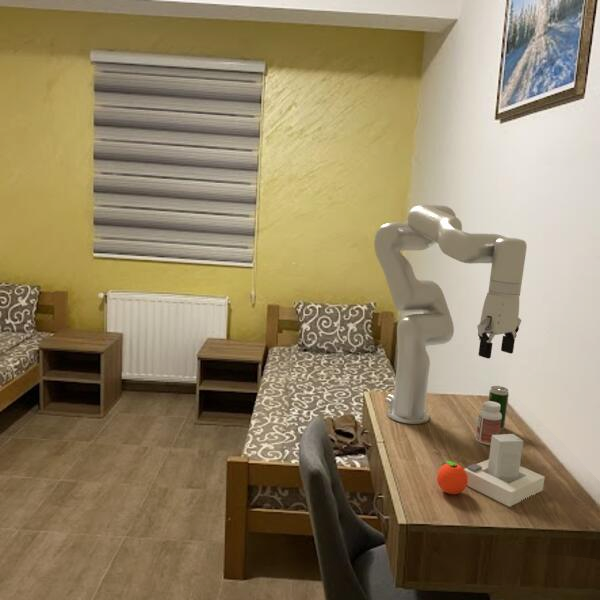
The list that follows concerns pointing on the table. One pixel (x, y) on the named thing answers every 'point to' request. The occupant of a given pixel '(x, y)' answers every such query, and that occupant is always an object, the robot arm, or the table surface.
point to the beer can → (500, 400)
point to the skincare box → (505, 457)
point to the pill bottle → (488, 422)
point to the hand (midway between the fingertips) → (495, 354)
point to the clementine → (452, 478)
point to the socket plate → (504, 484)
